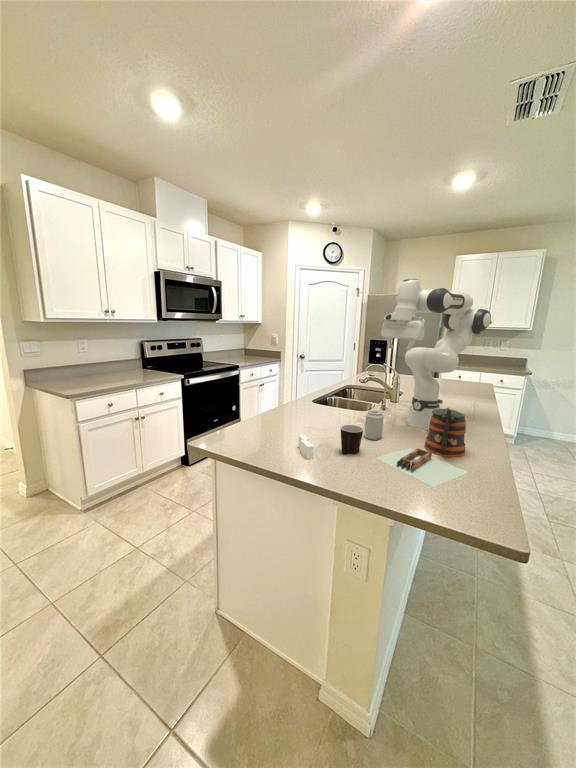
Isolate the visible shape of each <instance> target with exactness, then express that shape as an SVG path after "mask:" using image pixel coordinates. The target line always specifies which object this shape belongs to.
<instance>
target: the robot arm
mask: <svg viewBox="0 0 576 768" xmlns="http://www.w3.org/2000/svg"><path fill="white" fill-rule="evenodd" d="M397 290H398V291H397V294H396V305H395V308H394V311H393V312H391V313H388V314H386V315H384V316H383V320H384V321H383V323H382V325H381V330H380V335H381V337H382V338H385V339H386V341H387V344H388V345H387V349H394V344H393V342H392V341H394V340H393V339H399V340H408V344H407V345H406V346H405V351H406V353H405V355H404V361H405V364H406V365H407V367H408V368H409V369H410V370H411V371H410V372H411V374H412V376H413V381H414V389H413V390H414V391H413V397H412V399H411V404H412V405H411V406H410V407H409V411H408V416H407V418H406V419H405V422H406V424H407V426H409V427H412V428H416V429H419V430H423V431H429V424H430V420H431V416H432V415H433V413H432V411H433V410H436V409H442V408H441V407H440V405H442V404H443V402H444V401H443V399H439V393H440V387H441V386H440V383H439V382H438V381H437V379H435V378H434V376H433V374H432V372H433V373H439V374H443V373H444V374H446V373H452V372H455V370H456V369H457V368H458V366H459V363H460V360H459V356H458V355H459V354H460V353H462V352H464V351H465V350H466V349H467V348H468V347H469V346H470V345H471V343H472V342H473V335H480V334H481V332H484V331H485V330H486V329H487V328H488V327H489V326H490V324H491V322H492V315H491V312H490V311H489V310H488V309H484V308H478V309H477V308H473V304H474V298H473V296H472V295H471V294H469V293H466V292H464V291H461V290H459V291H458V290H450V291H449V290H448V289H447V288H445V287H440V288H434V289H423V287H422V286H421V280H420V279H418V278H408V279H407V278H406V279H403V280H401V282H400V283H399V286H398V289H397ZM419 313H421V314H422V313H423V314H425V313H427V314H428V313H432V314H433V313H434V314H444V315H443V317H442V323H443V326H444V328H445V329H448V330H452V331H451V332H450V333H448V334H447V335H445V336H444V337H442V338H440V339H439V340H437V341H436V343H435V346H434V347H424V346H422V347H421V346H419V347H418V346H416V347H413V346H414V344H415V343H416V341H422V340H423V339H424V338H425V332H426V331H425V328H426V327H425V326H426V320H425V318H423V317H417V314H419Z"/></svg>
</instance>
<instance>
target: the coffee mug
mask: <svg viewBox="0 0 576 768" xmlns="http://www.w3.org/2000/svg"><path fill="white" fill-rule="evenodd" d="M339 429H340V444H341V445H340V446H341V453H342V454H343V455H344V456H347V455H357V454H359V453H360V448H361V443H362V438H363V434H364V428H363V427H361V426H360V425H354V424H343V425H341V426H340V428H339Z"/></svg>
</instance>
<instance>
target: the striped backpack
mask: <svg viewBox="0 0 576 768" xmlns="http://www.w3.org/2000/svg"><path fill="white" fill-rule="evenodd" d="M432 413H433V415H432V416H431V420H430V424H429V430H427V431H428V432H427V436H426V437H425V441H424V449H425V451H428V452H431V453H432V454H434V455H437V456H439V457H446V458H452V459H455V458H462V457H464V456H466V443H465V437H466V436H465V435H466V433H467V432H466V431H467V429H466V427H467V426H466V425H467V420H466V416H465V415H464V413H462V412H460V411H457V410H455V409H450V408H449V407H447V408H441V409H436V410H433V411H432Z"/></svg>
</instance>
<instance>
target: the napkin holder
mask: <svg viewBox="0 0 576 768" xmlns="http://www.w3.org/2000/svg"><path fill="white" fill-rule="evenodd" d="M309 440H310V438H308V437H307V436H306V435H305V434H301V435H298V446H297V447H298V448H299V451H300V453H301V454H302V455H303V457H304V458H305V459H306V460H311V458H312V459H314V449H315V447H314V445H313V444H312V443H311V442H310V441H309Z"/></svg>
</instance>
